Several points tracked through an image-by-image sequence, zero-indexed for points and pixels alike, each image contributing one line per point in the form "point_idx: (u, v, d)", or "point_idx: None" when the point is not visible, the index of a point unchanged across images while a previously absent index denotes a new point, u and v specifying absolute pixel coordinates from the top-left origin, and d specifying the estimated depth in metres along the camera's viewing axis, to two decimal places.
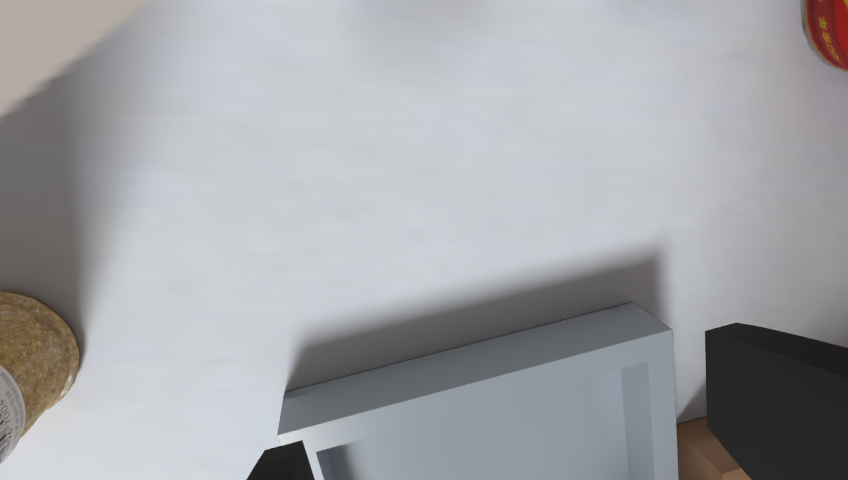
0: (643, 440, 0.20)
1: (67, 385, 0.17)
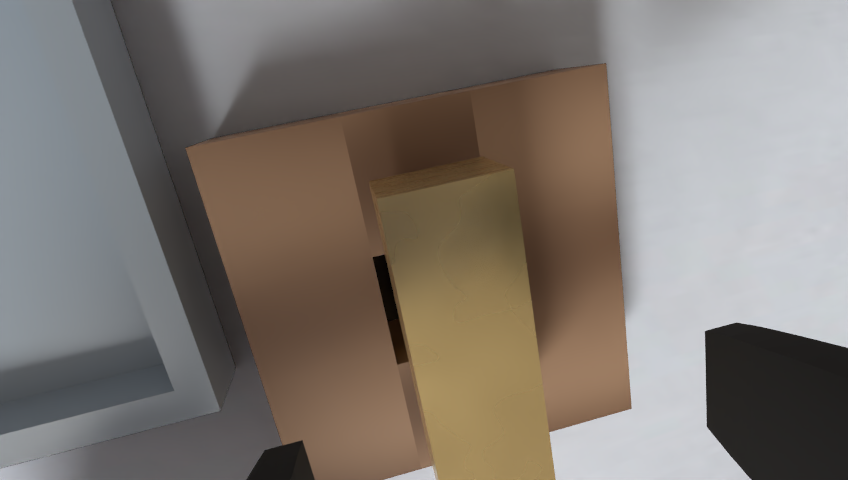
0: None
1: None
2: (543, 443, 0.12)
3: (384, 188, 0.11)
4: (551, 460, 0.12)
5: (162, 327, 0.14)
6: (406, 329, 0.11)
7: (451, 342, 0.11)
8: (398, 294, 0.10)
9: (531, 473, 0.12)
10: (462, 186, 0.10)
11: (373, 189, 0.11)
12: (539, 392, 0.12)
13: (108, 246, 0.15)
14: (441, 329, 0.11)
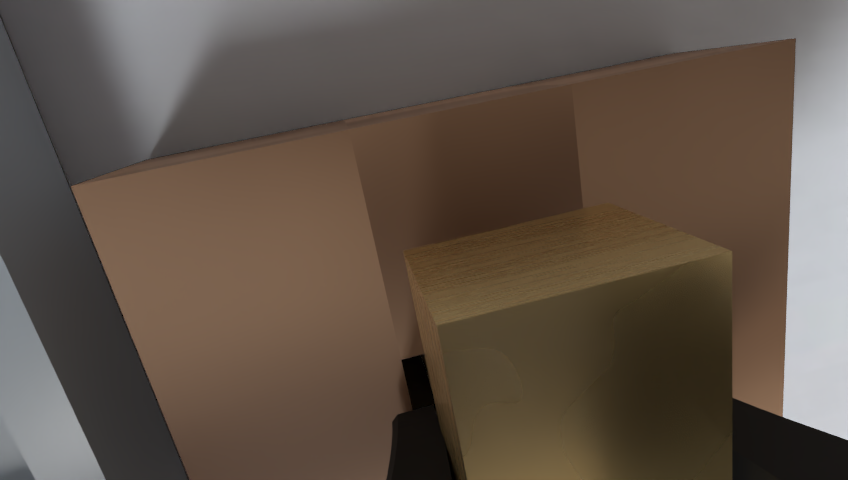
0: None
1: None
2: None
3: (442, 281, 0.05)
4: None
5: (54, 475, 0.08)
6: None
7: None
8: None
9: None
10: (621, 291, 0.05)
11: (418, 281, 0.05)
12: None
13: None
14: None
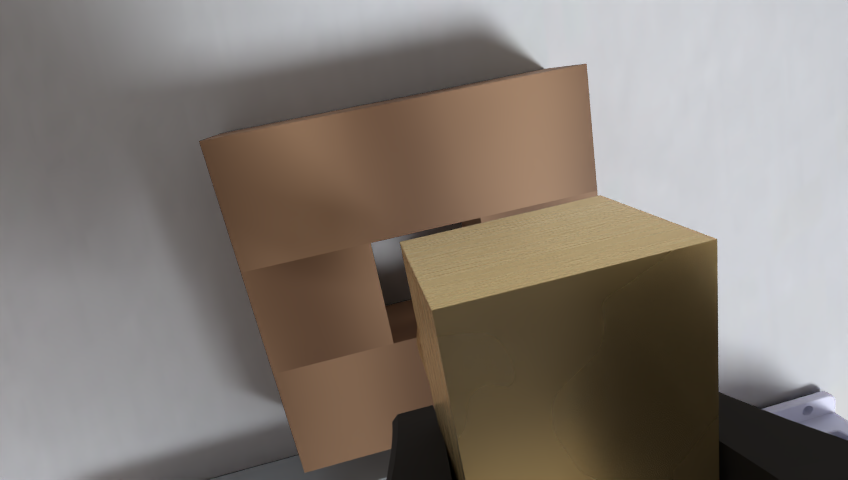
0: None
1: None
2: None
3: (437, 270, 0.05)
4: None
5: None
6: None
7: None
8: None
9: None
10: (609, 277, 0.05)
11: (415, 270, 0.06)
12: None
13: None
14: None
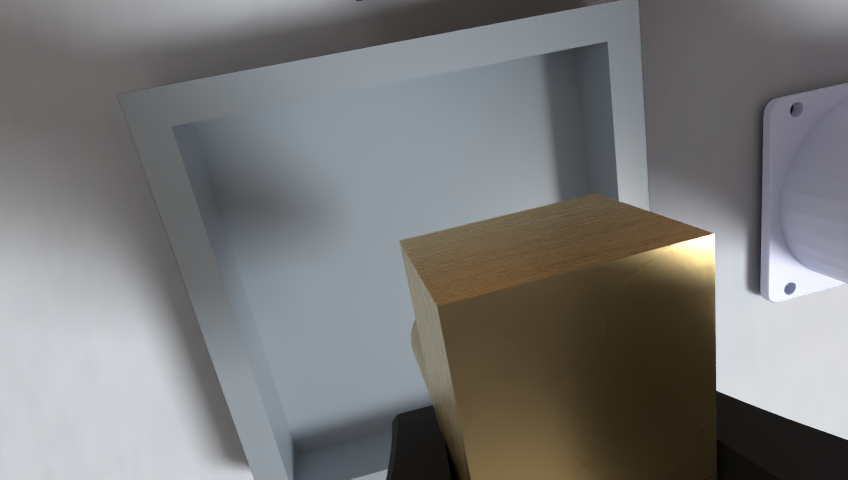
0: None
1: None
2: None
3: (439, 267, 0.05)
4: None
5: (541, 42, 0.14)
6: None
7: None
8: None
9: None
10: (612, 272, 0.05)
11: (416, 268, 0.06)
12: None
13: (458, 109, 0.16)
14: None
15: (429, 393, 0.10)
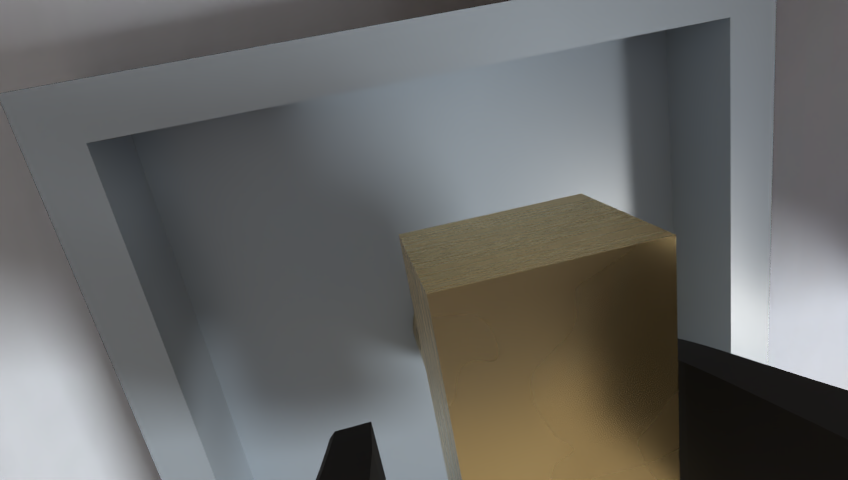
0: None
1: None
2: None
3: (432, 260, 0.06)
4: None
5: (637, 17, 0.10)
6: None
7: None
8: (458, 452, 0.06)
9: None
10: (582, 267, 0.05)
11: (412, 260, 0.06)
12: None
13: (505, 114, 0.12)
14: None
15: None
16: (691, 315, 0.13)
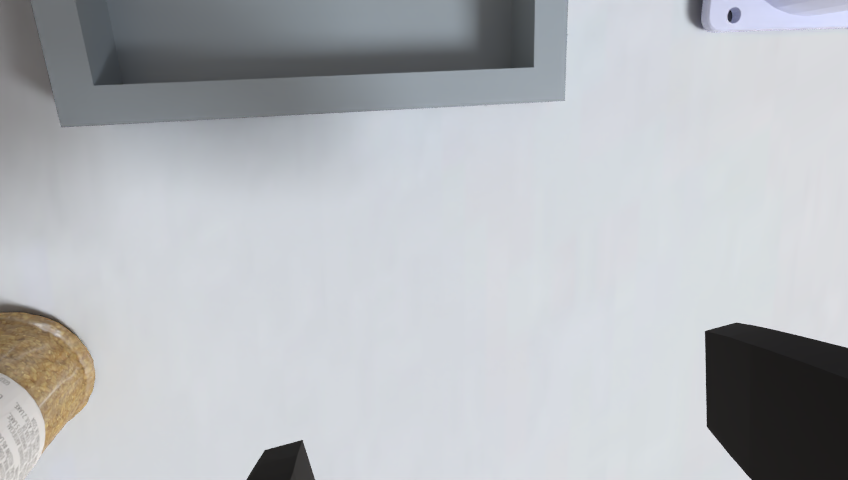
0: None
1: (48, 328, 0.16)
2: None
3: None
4: None
5: None
6: None
7: None
8: None
9: None
10: None
11: None
12: None
13: None
14: None
15: None
16: None
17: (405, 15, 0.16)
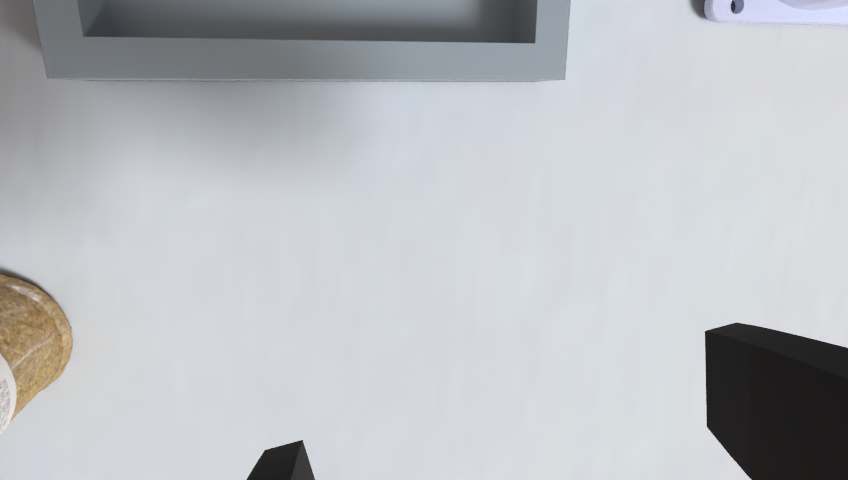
0: None
1: (26, 292, 0.16)
2: None
3: None
4: None
5: None
6: None
7: None
8: None
9: None
10: None
11: None
12: None
13: None
14: None
15: None
16: None
17: None
